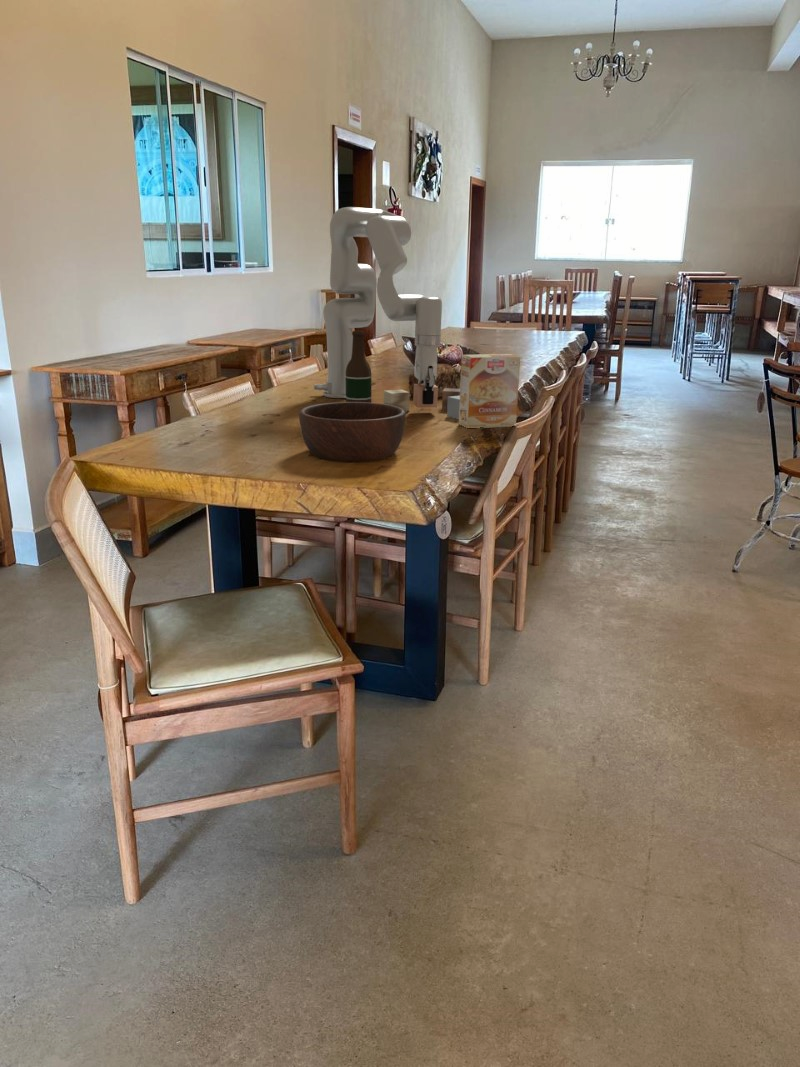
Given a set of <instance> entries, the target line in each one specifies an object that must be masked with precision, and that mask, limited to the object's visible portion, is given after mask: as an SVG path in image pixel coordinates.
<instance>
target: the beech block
mask: <svg viewBox="0 0 800 1067" xmlns="http://www.w3.org/2000/svg"><path fill="white" fill-rule="evenodd" d="M410 397H411V395H410V392H409V391H407V390H404V389H388V390H383V404H387V405H392V406H396V407H399V408H402V409H403V410H404V411H405V413H408V412H407V411H409V412H410V401H411V400H410Z"/></svg>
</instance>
